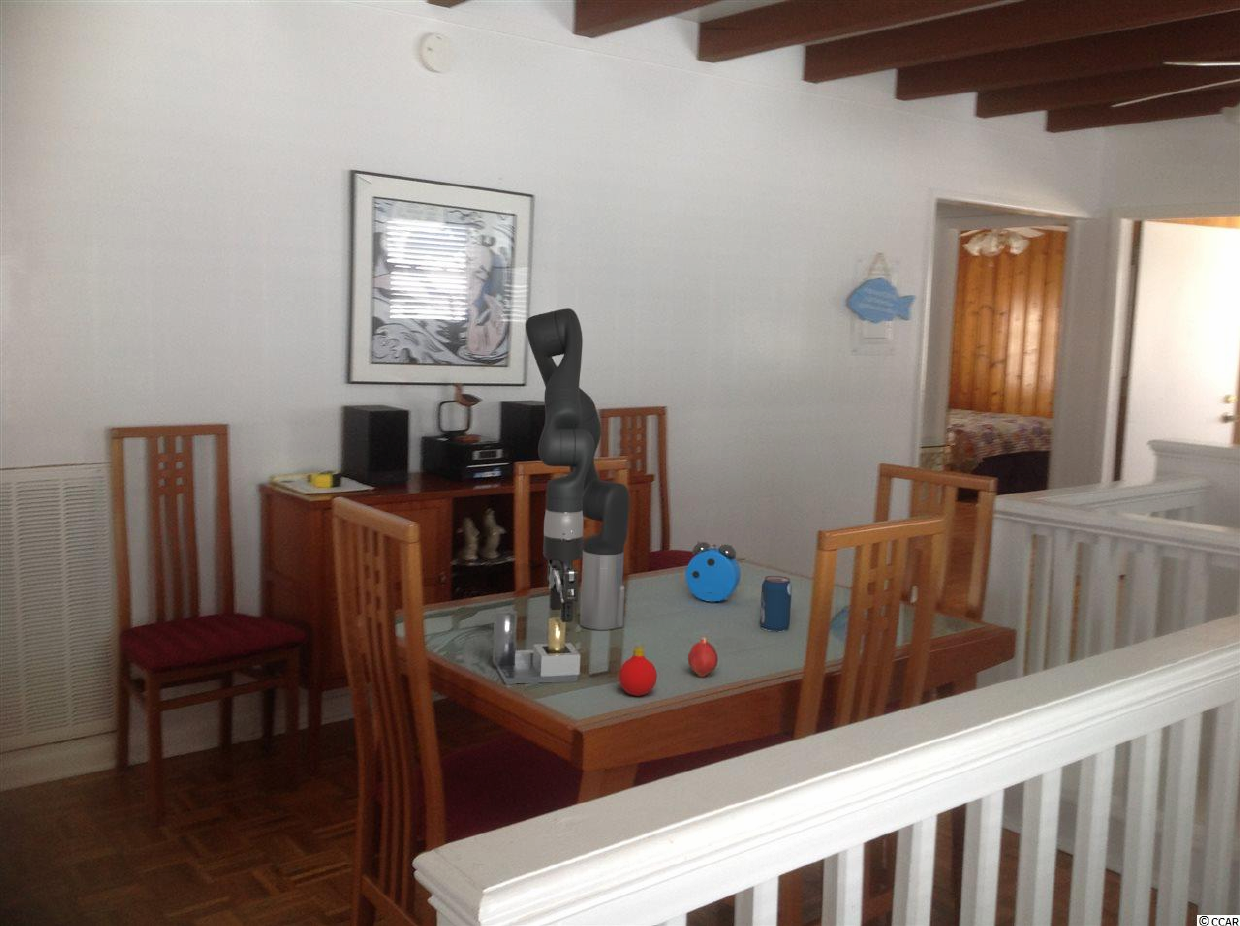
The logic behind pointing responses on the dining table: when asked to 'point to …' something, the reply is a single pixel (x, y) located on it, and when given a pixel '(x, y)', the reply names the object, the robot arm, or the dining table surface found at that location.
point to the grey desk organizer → (530, 656)
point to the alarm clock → (713, 572)
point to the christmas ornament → (637, 674)
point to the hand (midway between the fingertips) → (561, 615)
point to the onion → (702, 658)
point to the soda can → (775, 603)
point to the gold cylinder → (556, 635)
